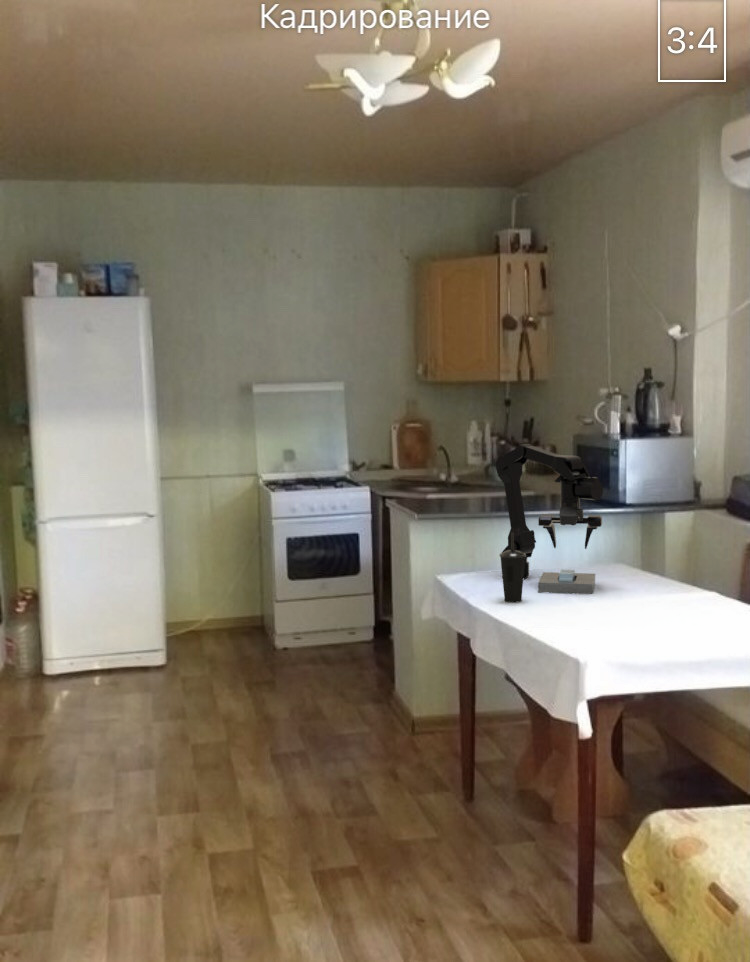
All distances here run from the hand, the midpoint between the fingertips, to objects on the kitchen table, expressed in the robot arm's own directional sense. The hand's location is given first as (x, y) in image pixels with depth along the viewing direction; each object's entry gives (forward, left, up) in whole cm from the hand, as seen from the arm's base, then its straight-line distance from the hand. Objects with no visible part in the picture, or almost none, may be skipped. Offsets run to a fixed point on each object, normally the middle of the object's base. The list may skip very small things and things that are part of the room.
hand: (570, 548), depth 319 cm
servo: (-1, -1, -12) cm, 12 cm away
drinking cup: (-15, -21, -12) cm, 29 cm away
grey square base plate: (-1, -1, -12) cm, 12 cm away
